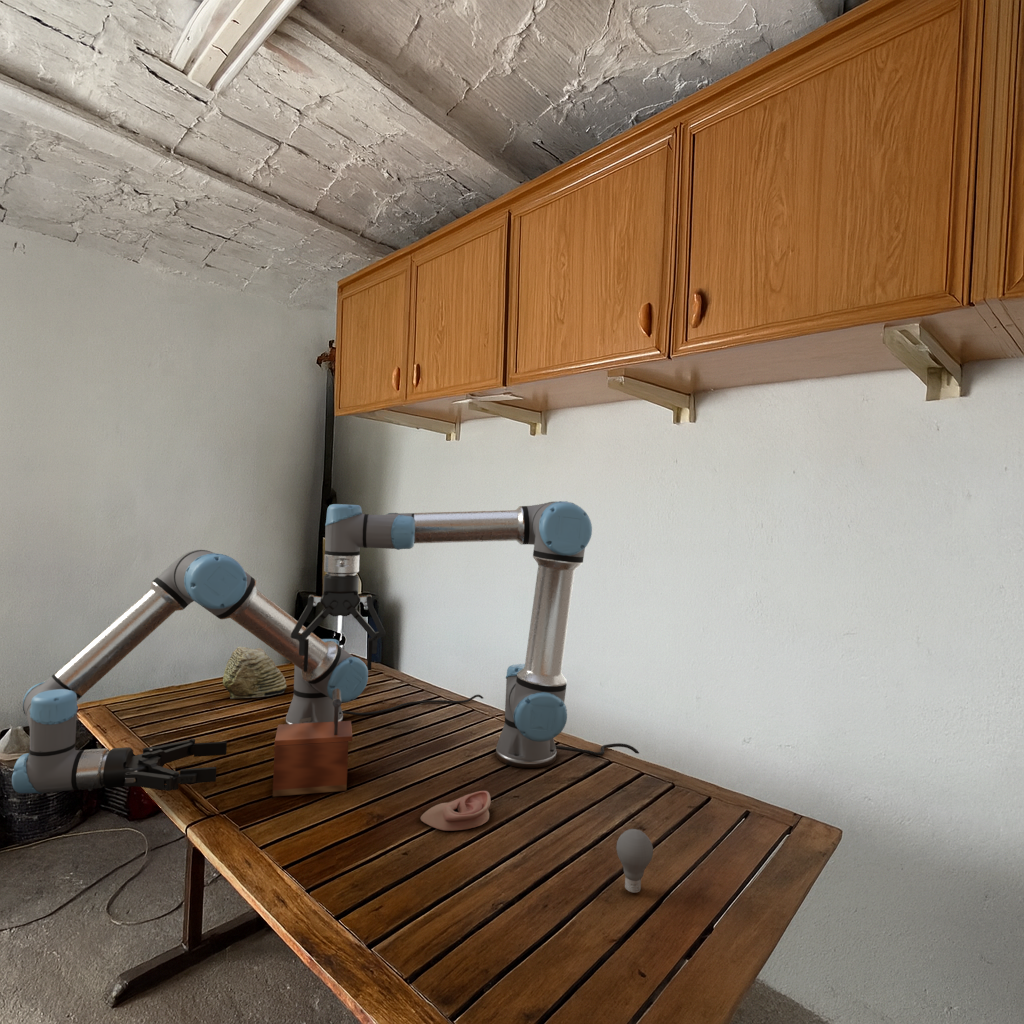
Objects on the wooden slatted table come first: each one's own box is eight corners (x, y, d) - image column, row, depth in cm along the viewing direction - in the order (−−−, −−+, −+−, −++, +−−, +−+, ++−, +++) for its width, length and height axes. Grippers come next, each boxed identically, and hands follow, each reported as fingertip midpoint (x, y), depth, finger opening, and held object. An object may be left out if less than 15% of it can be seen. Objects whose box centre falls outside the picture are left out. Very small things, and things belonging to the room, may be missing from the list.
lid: (350, 725, 146) (352, 686, 146) (352, 741, 137) (353, 699, 137) (278, 729, 142) (279, 689, 142) (274, 746, 133) (276, 703, 133)
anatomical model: (415, 806, 123) (434, 781, 134) (414, 826, 123) (433, 799, 134) (481, 816, 120) (495, 789, 132) (480, 836, 120) (494, 808, 132)
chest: (345, 771, 146) (347, 725, 146) (346, 790, 137) (348, 741, 137) (276, 776, 142) (278, 729, 142) (272, 796, 133) (274, 746, 133)
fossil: (218, 695, 195) (220, 647, 195) (278, 685, 208) (279, 640, 207) (228, 703, 189) (230, 653, 188) (289, 692, 201) (290, 645, 201)
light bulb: (610, 879, 108) (613, 822, 108) (644, 879, 109) (647, 822, 109) (619, 902, 102) (622, 840, 102) (655, 901, 103) (658, 840, 103)
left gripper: (126, 761, 140) (229, 754, 146) (84, 816, 117) (210, 806, 122) (127, 727, 140) (230, 722, 146) (85, 776, 116) (211, 767, 122)
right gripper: (280, 575, 133) (276, 675, 134) (400, 576, 140) (396, 671, 140) (283, 571, 140) (279, 666, 141) (396, 572, 147) (392, 662, 148)
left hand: (221, 760), depth 134 cm, fingers open, 13 cm apart
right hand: (337, 669), depth 141 cm, fingers open, 13 cm apart
